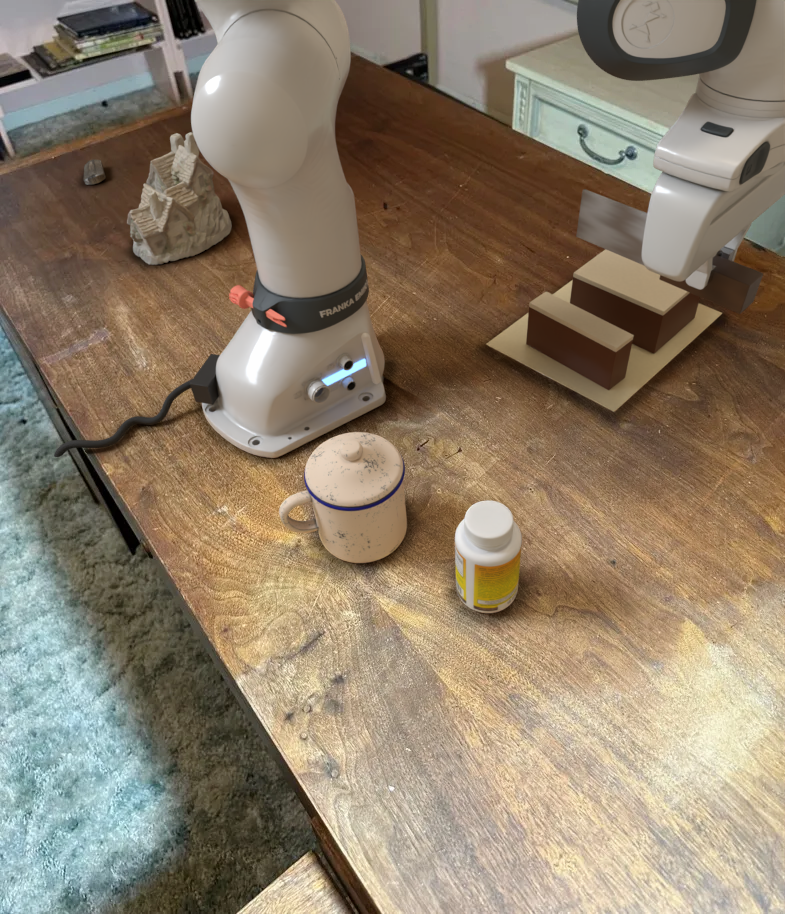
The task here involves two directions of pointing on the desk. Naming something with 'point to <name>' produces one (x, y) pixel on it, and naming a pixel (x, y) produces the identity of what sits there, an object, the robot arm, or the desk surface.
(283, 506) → the teacup with lid
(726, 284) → the knife
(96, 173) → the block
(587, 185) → the desk surface
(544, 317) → the tan-topped brown brick
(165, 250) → the ceramic cottage
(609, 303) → the cake
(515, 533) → the supplement bottle
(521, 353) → the platter
